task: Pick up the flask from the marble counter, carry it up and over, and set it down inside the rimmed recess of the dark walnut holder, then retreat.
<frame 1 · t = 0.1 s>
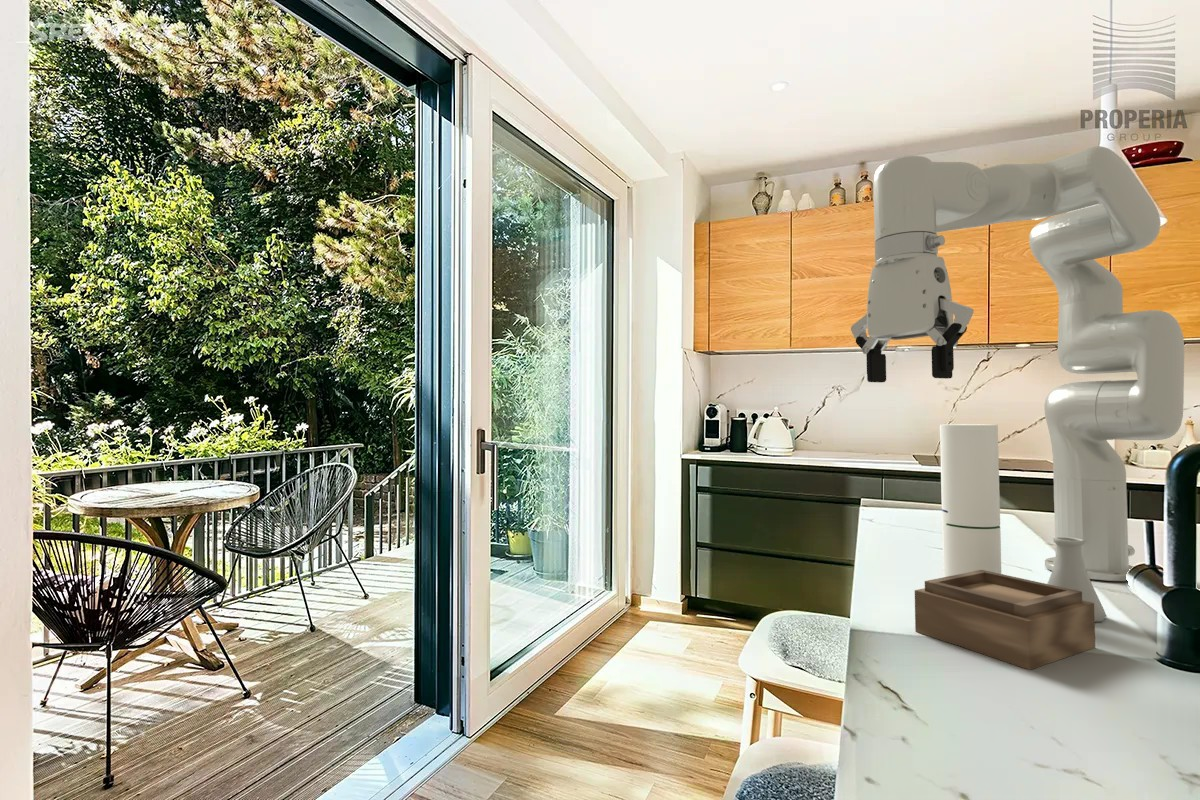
hand: (907, 380, 83), 31 cm above the counter, fingers open, 9 cm apart
flask: (1071, 616, 82), on the counter
walnut holder: (1001, 639, 73), on the counter
cylindrical container: (972, 601, 88), on the counter
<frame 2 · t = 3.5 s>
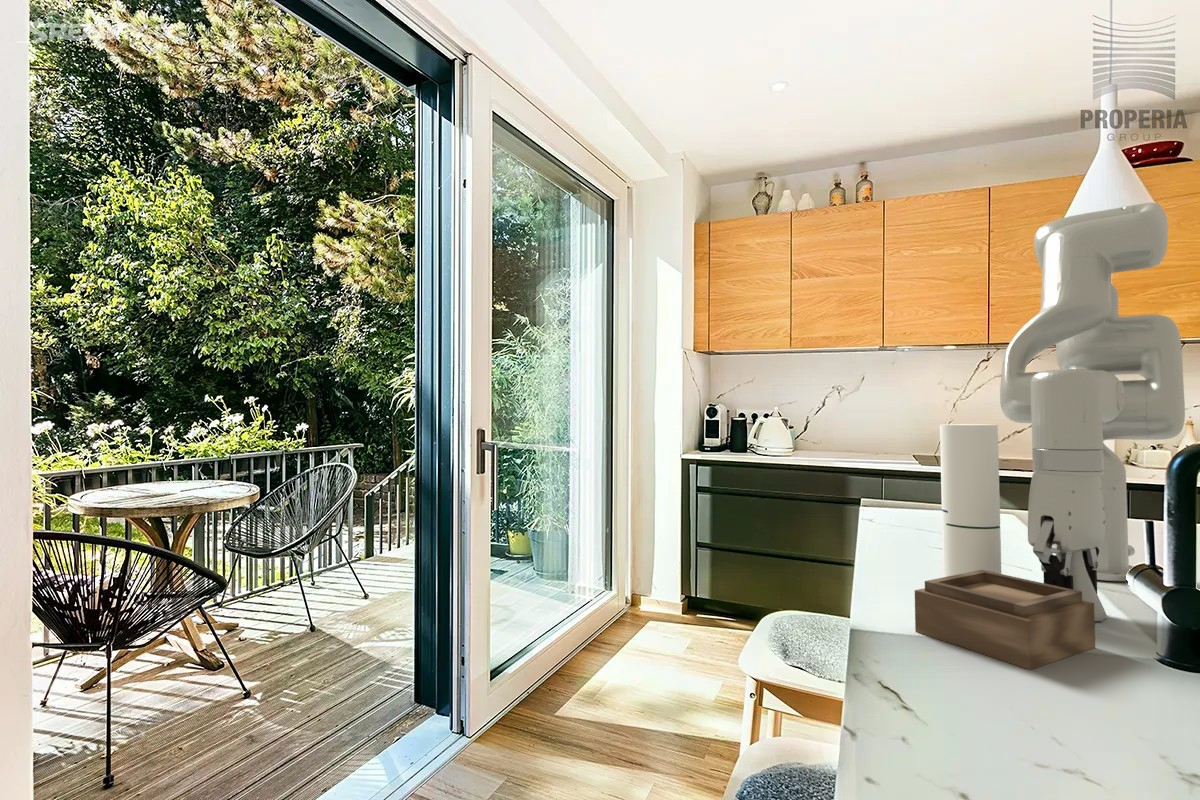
hand: (1070, 599, 82), 2 cm above the counter, fingers closed on flask, 4 cm apart
flask: (1071, 616, 82), on the counter, touching gripper
everything else where it was.
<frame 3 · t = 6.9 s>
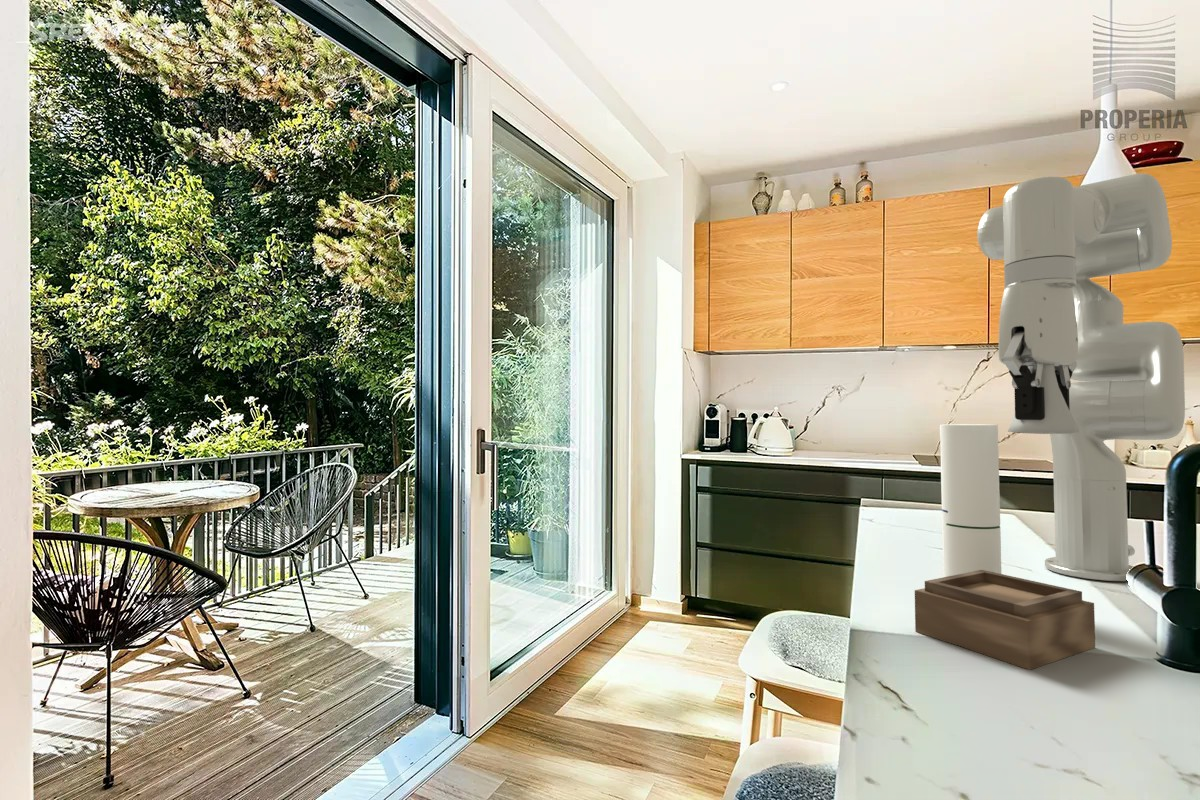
hand: (1042, 418, 79), 26 cm above the counter, fingers closed on flask, 4 cm apart
flask: (1043, 435, 79), point 24 cm above the counter, touching gripper
everything else where it was.
when the fingers open (8 cm above the counter, at t = 10.6 s): flask drops 1 cm, resting on walnut holder.
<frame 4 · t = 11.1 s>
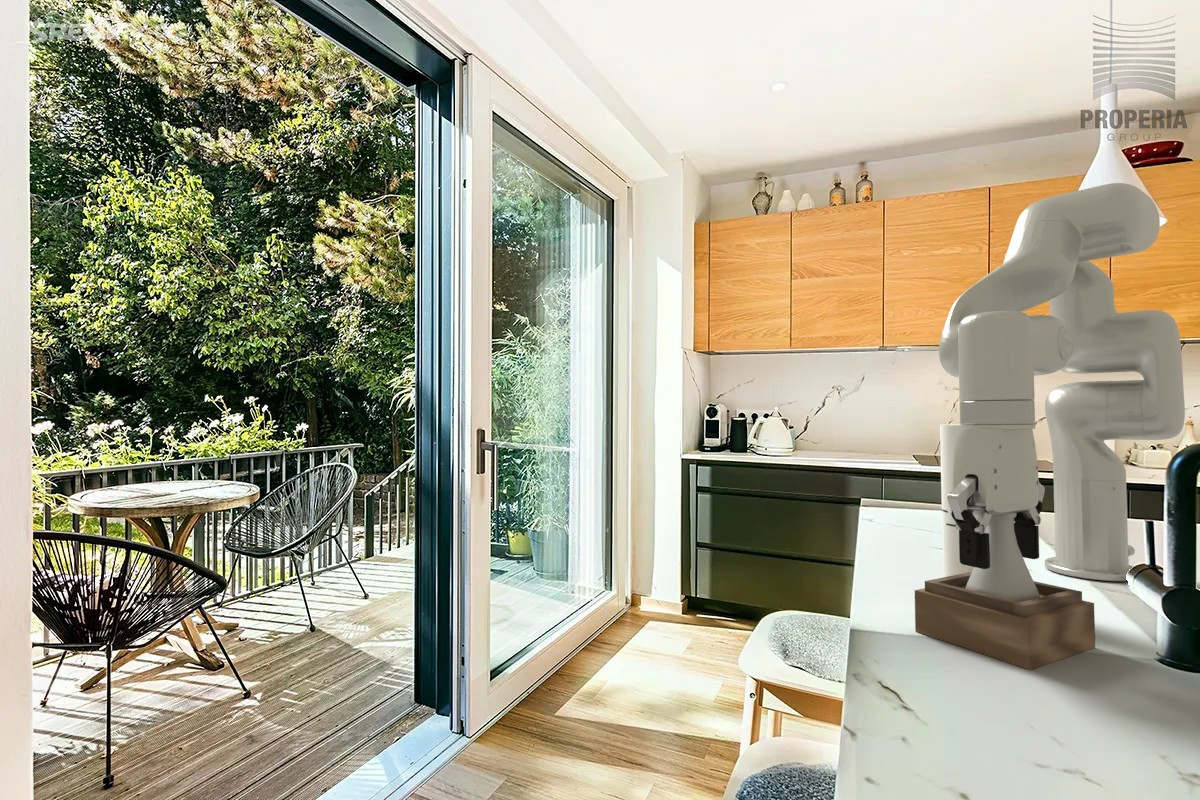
hand: (1000, 561, 73), 9 cm above the counter, fingers open, 9 cm apart
flask: (1001, 597, 73), point 5 cm above the counter, touching walnut holder
everything else where it was.
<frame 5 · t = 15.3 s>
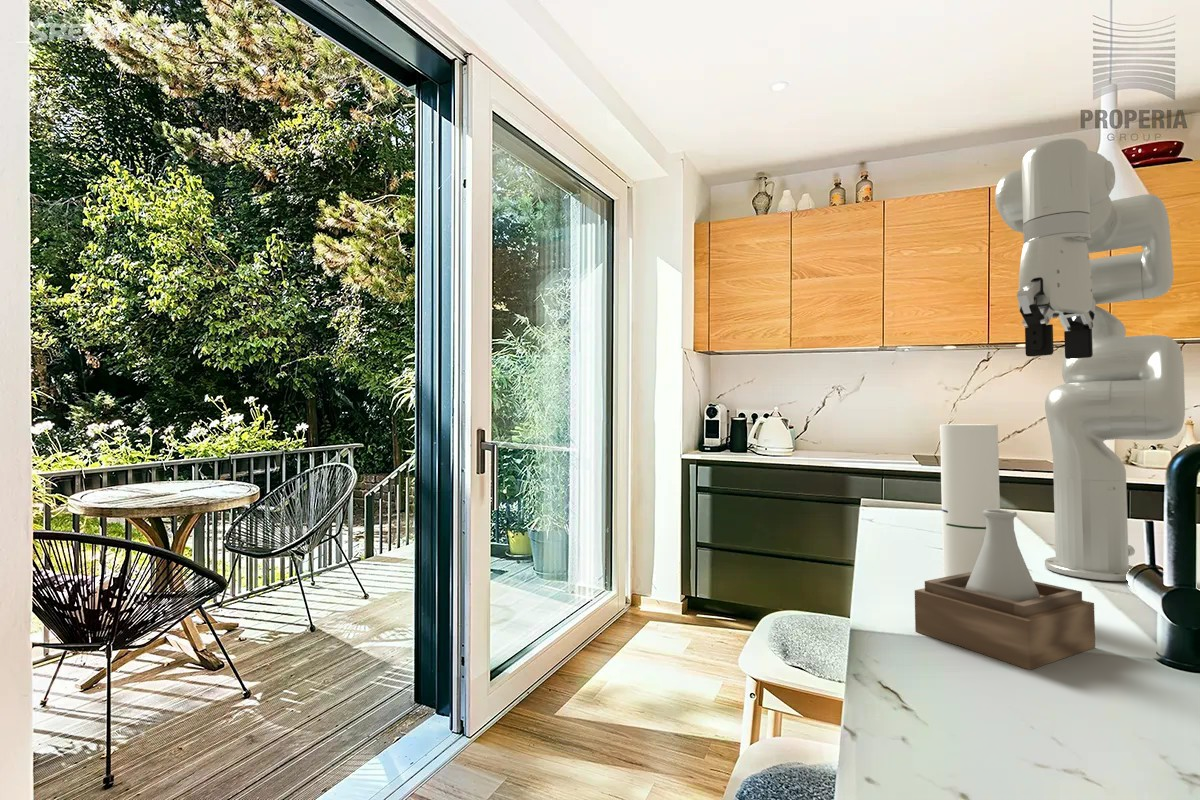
hand: (1059, 356, 86), 34 cm above the counter, fingers open, 9 cm apart
nothing on the counter moved.
at the end: flask 0.2 cm off-centre on the walnut holder, point 4.8 cm above the walnut holder's base; flask tilted 0°; the gripper is holding nothing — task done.
